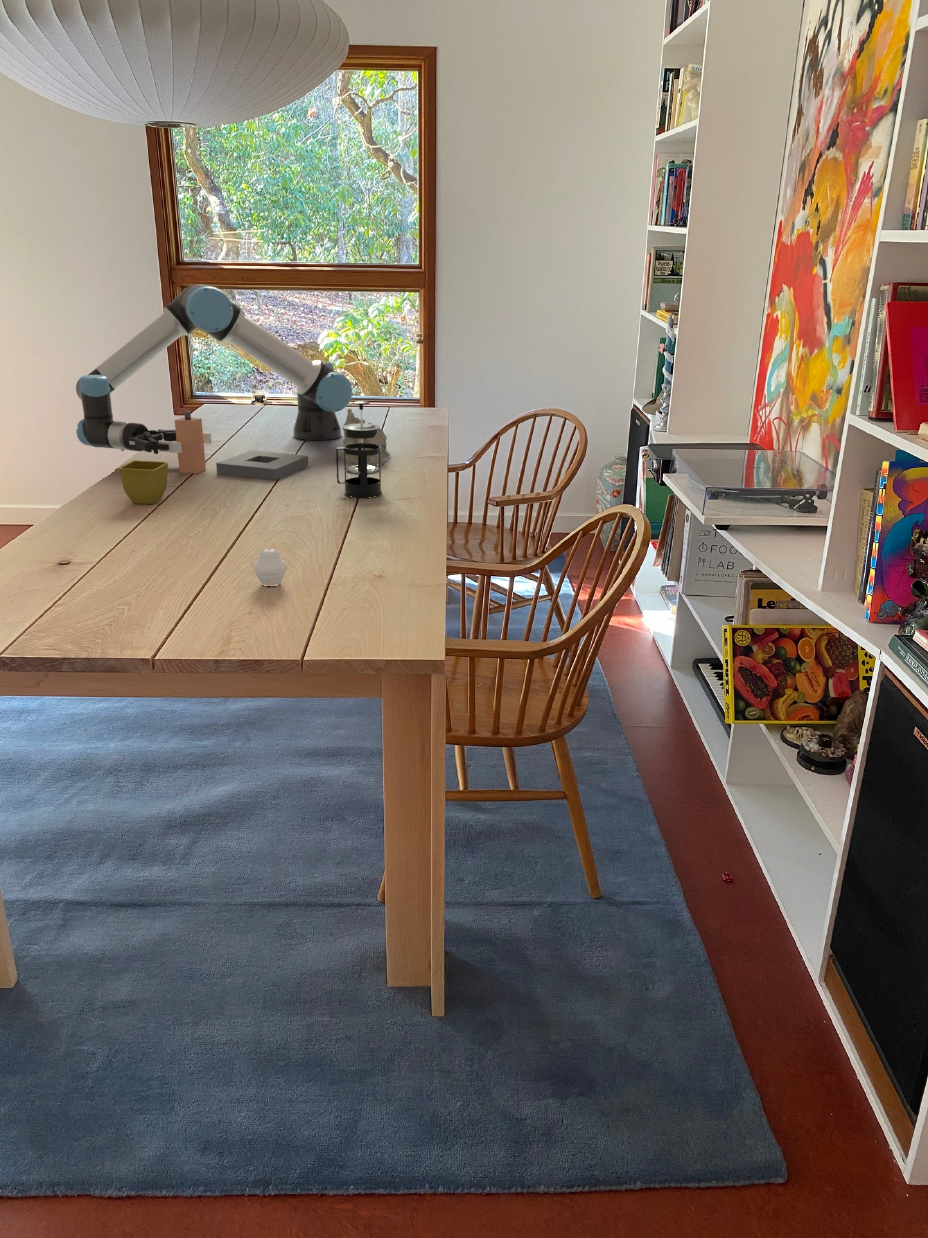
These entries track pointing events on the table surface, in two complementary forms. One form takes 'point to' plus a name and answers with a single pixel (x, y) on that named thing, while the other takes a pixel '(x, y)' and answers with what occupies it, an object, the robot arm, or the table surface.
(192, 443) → the plug
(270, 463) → the socket
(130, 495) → the flower pot
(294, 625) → the table surface
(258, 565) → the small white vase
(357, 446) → the french press
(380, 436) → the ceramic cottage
